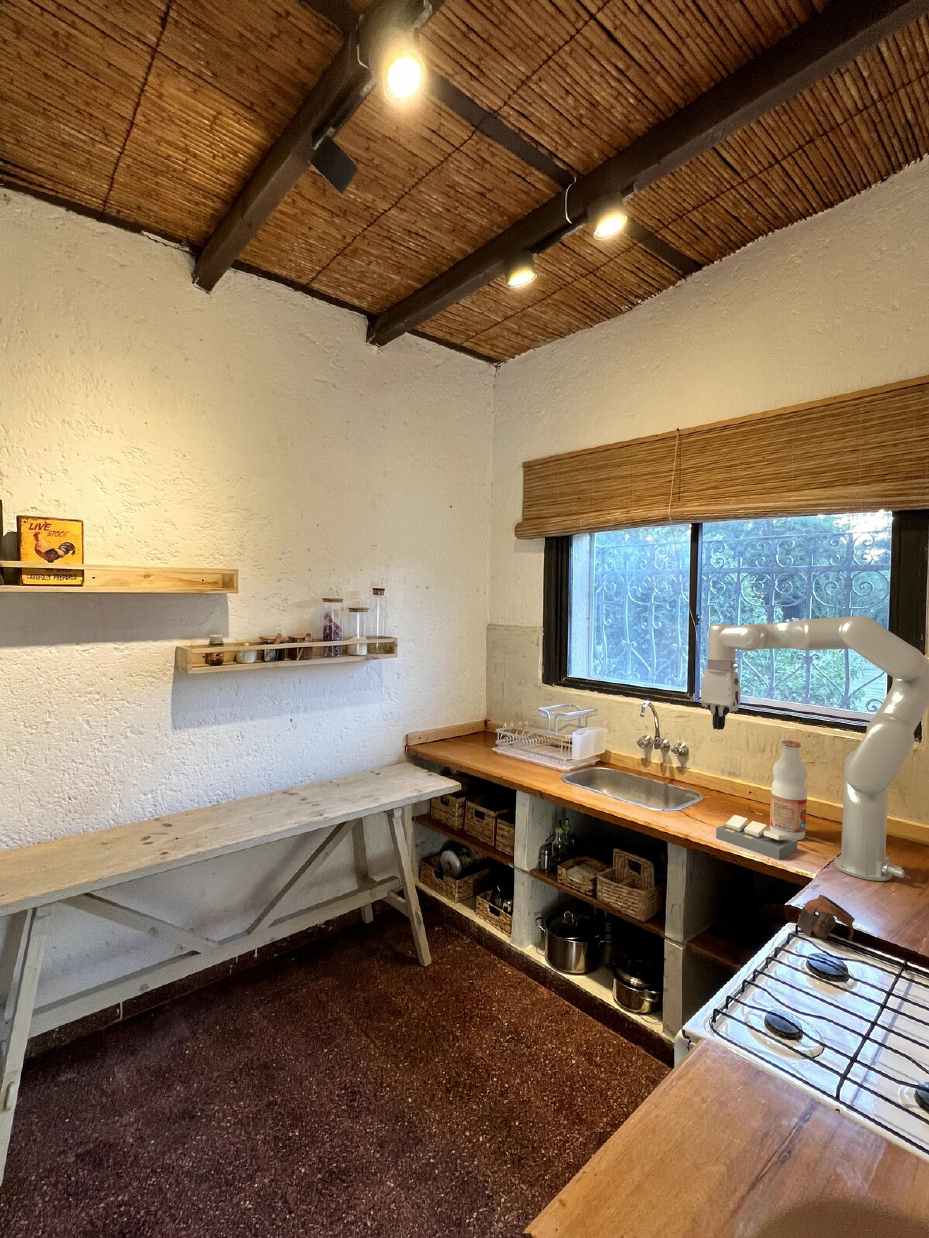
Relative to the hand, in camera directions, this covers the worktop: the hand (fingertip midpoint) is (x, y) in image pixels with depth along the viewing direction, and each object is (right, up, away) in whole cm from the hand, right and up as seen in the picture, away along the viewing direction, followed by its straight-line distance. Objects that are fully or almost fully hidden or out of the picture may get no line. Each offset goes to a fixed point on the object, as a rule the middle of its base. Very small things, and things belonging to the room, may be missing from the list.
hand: (718, 728), depth 174 cm
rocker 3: (+12, -28, -8) cm, 32 cm away
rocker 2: (+9, -28, -4) cm, 30 cm away
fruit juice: (+22, -33, +5) cm, 40 cm away
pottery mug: (0, -34, -51) cm, 61 cm away
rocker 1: (+6, -28, 0) cm, 28 cm away
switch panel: (+9, -33, -4) cm, 34 cm away
